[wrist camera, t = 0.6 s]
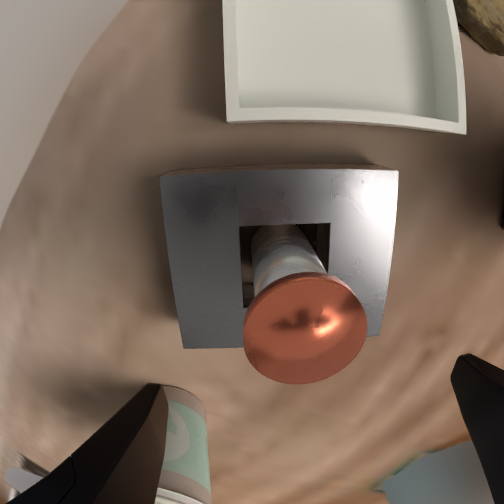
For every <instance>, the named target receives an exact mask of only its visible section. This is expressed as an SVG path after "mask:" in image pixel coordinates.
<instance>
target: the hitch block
mask: <svg viewBox="0 0 504 504" xmlns="http://www.w3.org/2000/svg"><path fill="white" fill-rule="evenodd" d="M398 173H399V171H397V170H394V169H390V168H386V167H383V166H379V165H370V164H265V165H240V166H222V167H206V168H192V169H180V170H172V171H170V172H168V173H166V174H164V175H162V176H160V177H159V180H160V191H161V201H162V210H163V219H164V227H165V235H166V243H167V251H168V258H169V265H170V272H171V279H172V285H173V291H174V298H175V304H176V310H177V315H178V321H179V327H180V332H181V337H182V343H183V348H184V349H196V348H238V347H244V344H243V323H244V317H245V314H246V311H247V309H248V307H249V305H250V303H251V302H252V300H253V299H254V297H255V294H254V283H251V284H243V275H242V257H241V238H240V226H257V225H281V224H308V223H317V251H316V255H317V257H318V258H319V260H320V262H321V263H322V265H323V267H324V269H325V270H326V272H327V274H328V275H331V276H334V277H336V278H338V279H339V280H341V281H343V282H344V283H345V284H346V285H348V286H349V287H350V289H351V290H352V291H353V292H354V294H355V295H356V297H357V299H358V300H359V302H360V303H361V305H362V307H363V308H364V311H365V313H366V318H367V334H366V337H370V336H378V335H379V334H380V329H381V324H382V318H383V313H384V307H385V301H386V295H387V288H388V282H389V275H390V267H391V259H392V251H393V242H394V232H395V221H396V209H397V194H398Z"/></svg>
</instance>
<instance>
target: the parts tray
mask: <svg viewBox="0 0 504 504" xmlns="http://www.w3.org/2000/svg"><path fill="white" fill-rule="evenodd" d="M222 2H223V37H224V66H225V92H226V115H227V122H228V123H229V124H239V123H268V122H317V123H345V124H363V125H376V126H388V127H399V128H408V129H417V130H425V131H432V132H440V133H453V134H465V135H466V97H465V81H464V70H463V60H462V52H461V44H460V37H459V31H458V25H457V19H456V14H455V9H454V4H453V0H222Z"/></svg>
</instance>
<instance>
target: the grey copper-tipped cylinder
mask: <svg viewBox="0 0 504 504" xmlns="http://www.w3.org/2000/svg"><path fill="white" fill-rule="evenodd" d="M251 254H252V268H253V281H254V294H255V297H254V299H253V300H252V302H251V303H250V305H249V307H248V309H247V311H246V314H245V317H244V323H243V344H244V350H245V353H246V356H247V358H248V360H249V362H250V363H251V364H252V366H253V367H254V368H255V369H256V370H257V371H258V372H260V373H261V374H262V375H264V376H266V377H268V378H269V379H272V380H274V381H277V382H281V383H286V384H308V383H313V382H317V381H321V380H323V379H326V378H328V377H331V376H333V375H334V374H336V373H338V372H339V371H341V370H342V369H344V368H345V367H346V366H347V365H348V364H350V363H351V362H352V360H353V359H354V358H355V357H356V356H357V354H358V353H359V351H360V350H361V348H362V346H363V344H364V341H365V338H366V334H367V318H366V313H365V311H364V308H363V307H362V305H361V303H360V302H359V300H358V299H357V297H356V295H355V294H354V292H353V291H352V290H351V289H350V287H349V286H348V285H346V284H345V283H344V282H343V281H341V280H339V279H338V278H336V277H334V276H331V275H328V274H327V272H326V270H325V269H324V267H323V265H322V263H321V262H320V260H319V258H318V257H317V255H316V253H315V252H314V250H313V248H312V246H311V245H310V243H309V241H308V240H307V238H306V236H305V235H304V233H303V232H302V230H301V229H300V228H299V227H298V226H297V225H295V224H281V225H263V226H262V227H261V228H260V229H259V230H258V231H257V232H256V233H255V235H254V237H253V240H252V244H251Z"/></svg>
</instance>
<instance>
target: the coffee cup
mask: <svg viewBox="0 0 504 504" xmlns="http://www.w3.org/2000/svg"><path fill="white" fill-rule="evenodd" d="M163 388H164V391H165V394H166V398H167V401H168V406H169V412H168V422H167V433H166V445H165V455H164V460H163V465H162V470H161V475H160V480H159V484H158V489H157V494H156V499H155V504H212V502H211V489H210V476H209V462H208V446H207V429H206V412H205V408H204V406H203V404H202V402H201V401H200V400H199V399H198V398H197V397H195V396H194V395H193V394H191V393H189V392H187V391H185V390H183V389H180V388H176V387H171V386H163Z"/></svg>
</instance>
